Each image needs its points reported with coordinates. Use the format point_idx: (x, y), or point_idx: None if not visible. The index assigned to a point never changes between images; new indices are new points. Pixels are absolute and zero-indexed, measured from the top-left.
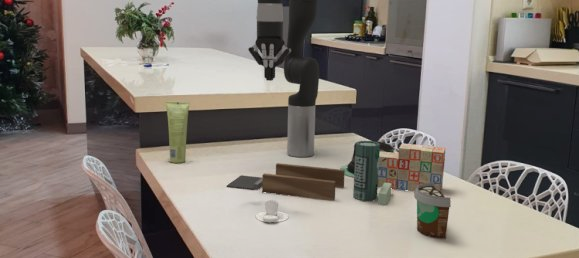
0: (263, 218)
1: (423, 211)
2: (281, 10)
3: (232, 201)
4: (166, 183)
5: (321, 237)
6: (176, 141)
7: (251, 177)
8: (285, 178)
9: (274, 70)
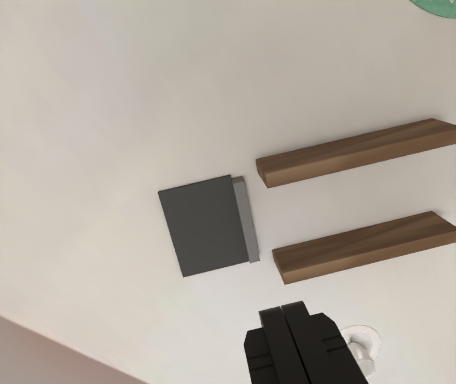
0: None
1: None
2: None
3: None
4: (49, 329)
5: (451, 367)
6: None
7: (194, 193)
8: (341, 268)
9: (358, 381)
